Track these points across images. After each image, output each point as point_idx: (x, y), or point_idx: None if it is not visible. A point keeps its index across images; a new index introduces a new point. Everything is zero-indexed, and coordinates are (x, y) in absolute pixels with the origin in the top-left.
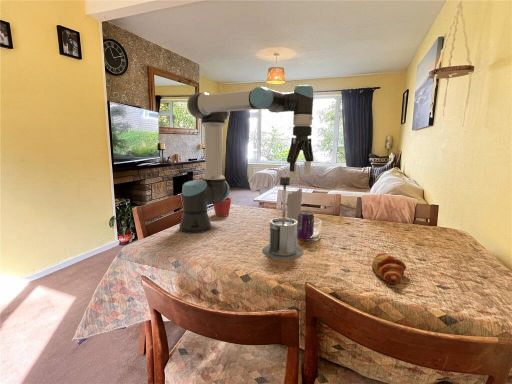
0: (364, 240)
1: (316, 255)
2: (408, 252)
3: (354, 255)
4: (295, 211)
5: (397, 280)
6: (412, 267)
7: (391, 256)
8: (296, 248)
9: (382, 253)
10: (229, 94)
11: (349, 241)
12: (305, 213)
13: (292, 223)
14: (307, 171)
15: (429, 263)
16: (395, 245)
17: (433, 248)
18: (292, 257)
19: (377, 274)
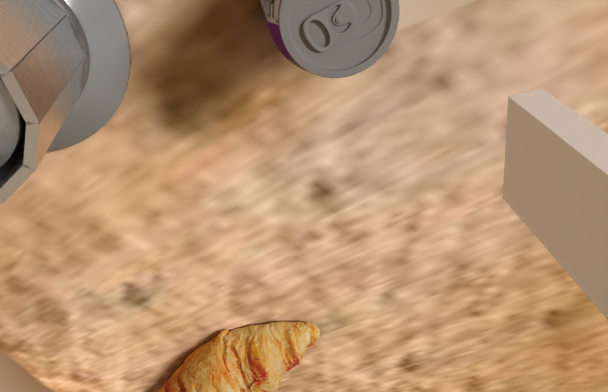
0: (486, 193)
1: (150, 167)
2: (449, 328)
3: (283, 251)
4: None
5: None
6: (327, 373)
7: None
8: (107, 72)
9: (264, 372)
10: None
11: (429, 161)
12: (322, 24)
13: (12, 139)
14: (556, 216)
15: (393, 382)
16: (497, 282)
17: (538, 349)
18: None
19: (186, 358)
